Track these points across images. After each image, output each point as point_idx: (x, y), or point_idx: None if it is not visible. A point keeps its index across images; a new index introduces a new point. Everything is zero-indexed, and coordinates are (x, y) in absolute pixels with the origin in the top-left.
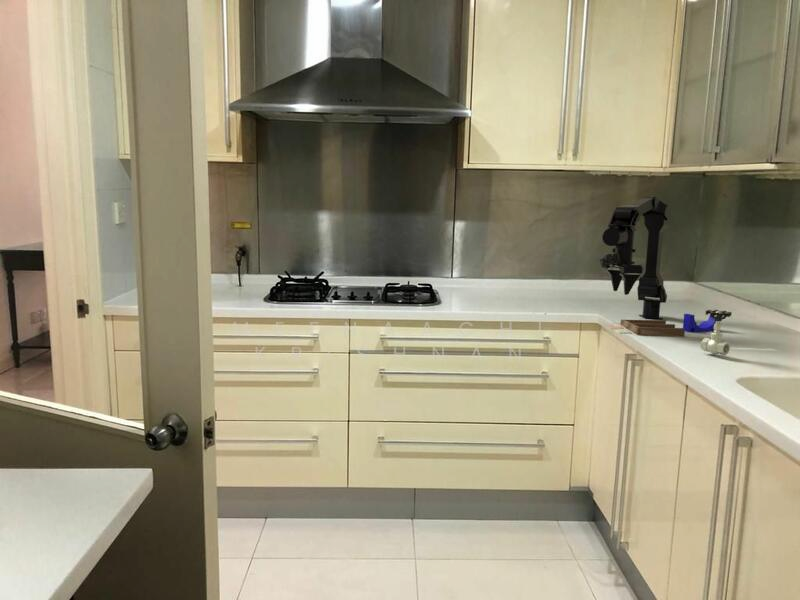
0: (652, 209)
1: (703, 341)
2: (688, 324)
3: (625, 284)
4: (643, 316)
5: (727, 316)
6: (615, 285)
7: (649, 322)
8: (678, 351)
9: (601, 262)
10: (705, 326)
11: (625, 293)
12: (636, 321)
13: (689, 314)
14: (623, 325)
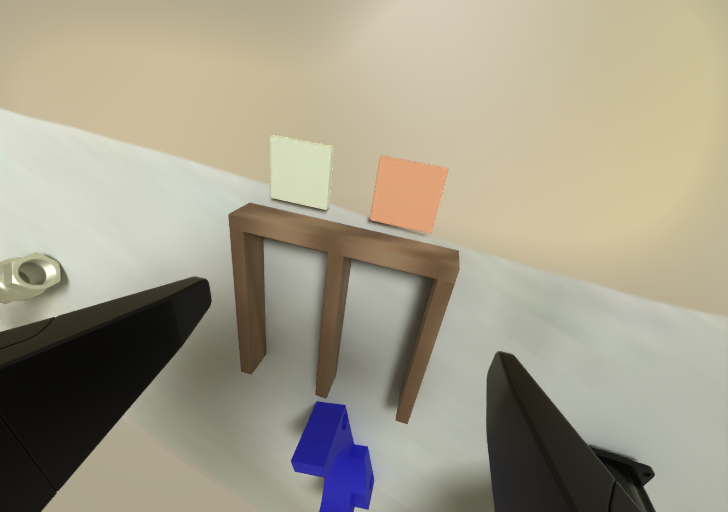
0: None
1: (8, 264)
2: (311, 427)
3: (47, 325)
4: (598, 457)
5: None
6: (505, 420)
7: (410, 367)
8: (24, 184)
9: None
10: (337, 466)
11: (184, 283)
12: (423, 325)
13: (307, 469)
14: (415, 247)
